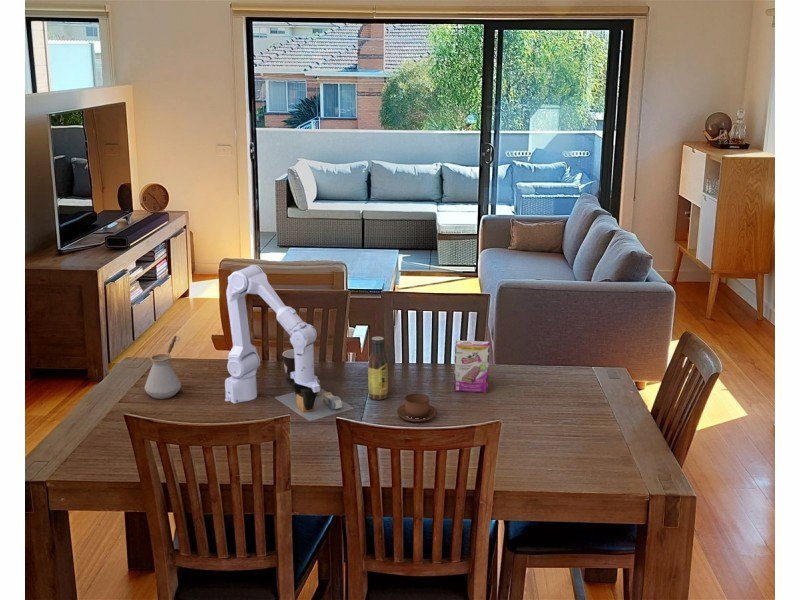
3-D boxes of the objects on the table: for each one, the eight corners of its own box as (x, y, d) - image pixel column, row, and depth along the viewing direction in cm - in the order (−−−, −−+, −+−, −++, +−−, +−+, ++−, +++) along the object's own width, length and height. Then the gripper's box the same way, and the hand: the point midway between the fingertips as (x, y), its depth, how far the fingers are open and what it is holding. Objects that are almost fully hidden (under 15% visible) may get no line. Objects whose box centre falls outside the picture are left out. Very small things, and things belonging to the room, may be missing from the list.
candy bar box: (453, 392, 286) (454, 344, 282) (454, 386, 291) (455, 339, 286) (488, 393, 285) (489, 346, 281) (488, 387, 290) (489, 340, 285)
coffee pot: (174, 402, 278) (171, 357, 274) (139, 400, 280) (135, 356, 275) (196, 377, 299) (193, 335, 294) (163, 375, 300) (159, 334, 296)
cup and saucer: (391, 412, 272) (391, 393, 270) (427, 406, 276) (427, 388, 274) (405, 427, 261) (405, 408, 259) (442, 421, 265) (442, 402, 263)
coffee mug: (307, 386, 291) (306, 358, 288) (281, 386, 291) (280, 358, 288) (311, 373, 302) (311, 346, 299) (286, 373, 302) (285, 345, 299)
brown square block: (303, 413, 267) (302, 397, 265) (296, 408, 270) (296, 393, 268) (314, 410, 269) (314, 394, 268) (308, 405, 272) (307, 390, 271)
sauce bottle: (385, 401, 279) (385, 342, 273) (366, 400, 280) (365, 341, 274) (389, 393, 285) (389, 335, 279) (371, 392, 286) (370, 334, 281)
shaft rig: (334, 412, 267) (334, 401, 266) (301, 391, 283) (300, 381, 282) (349, 408, 270) (349, 397, 269) (316, 387, 286) (316, 377, 285)
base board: (309, 425, 262) (309, 421, 261) (274, 401, 279) (274, 397, 278) (354, 412, 271) (354, 408, 270) (317, 390, 288) (317, 386, 287)
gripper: (328, 369, 262) (329, 411, 266) (304, 355, 273) (305, 396, 277) (307, 374, 258) (309, 417, 262) (283, 360, 269) (285, 401, 273)
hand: (305, 406), depth 269 cm, fingers closed on brown square block, 4 cm apart
